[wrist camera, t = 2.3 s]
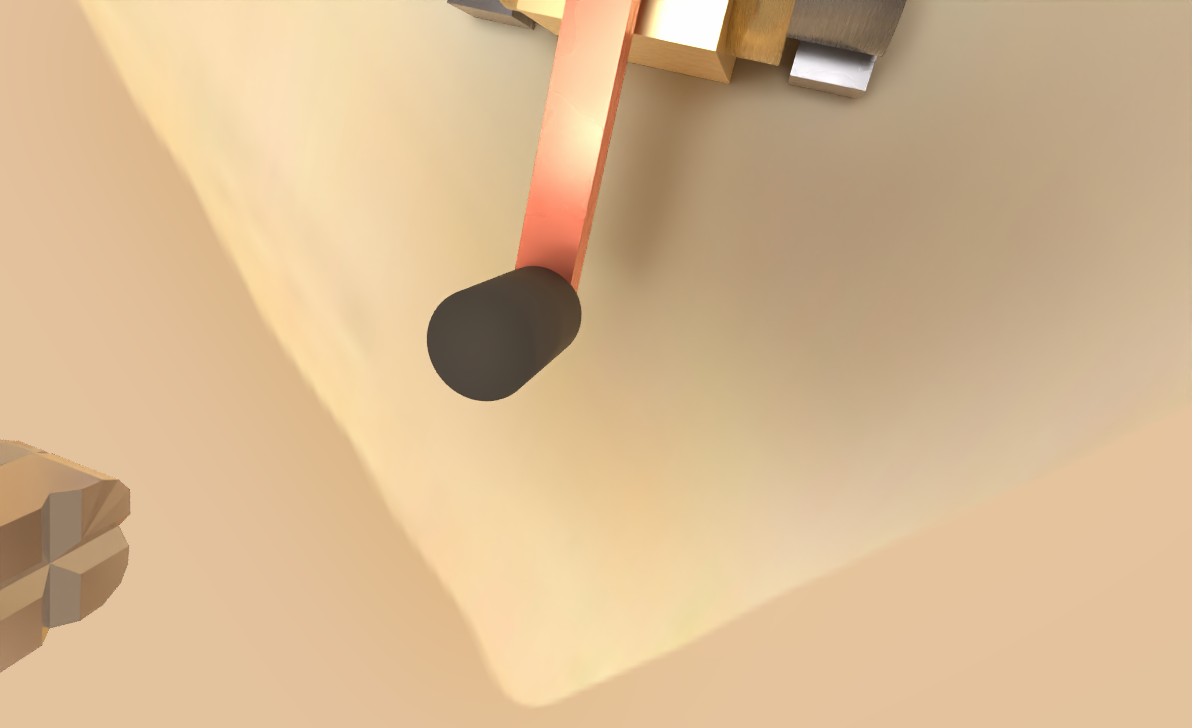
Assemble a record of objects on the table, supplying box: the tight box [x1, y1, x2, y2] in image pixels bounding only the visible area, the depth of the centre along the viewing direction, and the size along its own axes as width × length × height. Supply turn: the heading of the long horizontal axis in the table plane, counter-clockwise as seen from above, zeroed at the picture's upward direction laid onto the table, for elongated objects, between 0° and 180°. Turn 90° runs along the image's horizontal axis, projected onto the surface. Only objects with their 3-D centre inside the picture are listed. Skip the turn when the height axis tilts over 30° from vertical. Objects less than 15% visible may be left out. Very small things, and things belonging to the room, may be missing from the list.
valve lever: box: [427, 0, 641, 401], centre depth 20 cm, size 16×4×6 cm, turn 167°
